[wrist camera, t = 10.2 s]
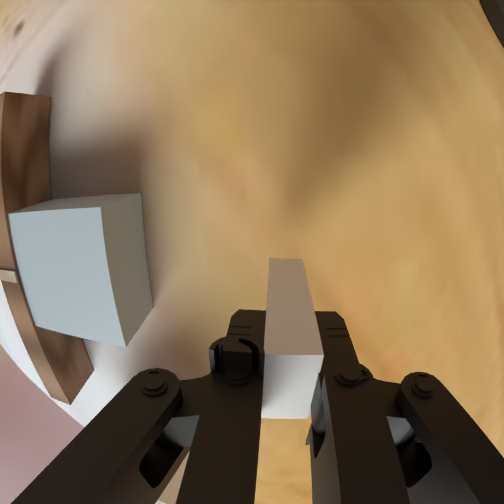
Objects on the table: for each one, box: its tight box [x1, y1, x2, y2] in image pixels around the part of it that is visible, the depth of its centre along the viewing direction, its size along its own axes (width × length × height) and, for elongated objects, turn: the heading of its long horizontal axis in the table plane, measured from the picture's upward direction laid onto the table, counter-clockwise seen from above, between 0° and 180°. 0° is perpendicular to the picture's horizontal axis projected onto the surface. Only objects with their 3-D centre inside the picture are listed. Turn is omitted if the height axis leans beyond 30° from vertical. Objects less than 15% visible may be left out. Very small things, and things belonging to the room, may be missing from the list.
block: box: [8, 193, 153, 347], centre depth 15 cm, size 8×8×5 cm
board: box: [0, 92, 94, 405], centre depth 15 cm, size 24×2×5 cm, turn 179°
